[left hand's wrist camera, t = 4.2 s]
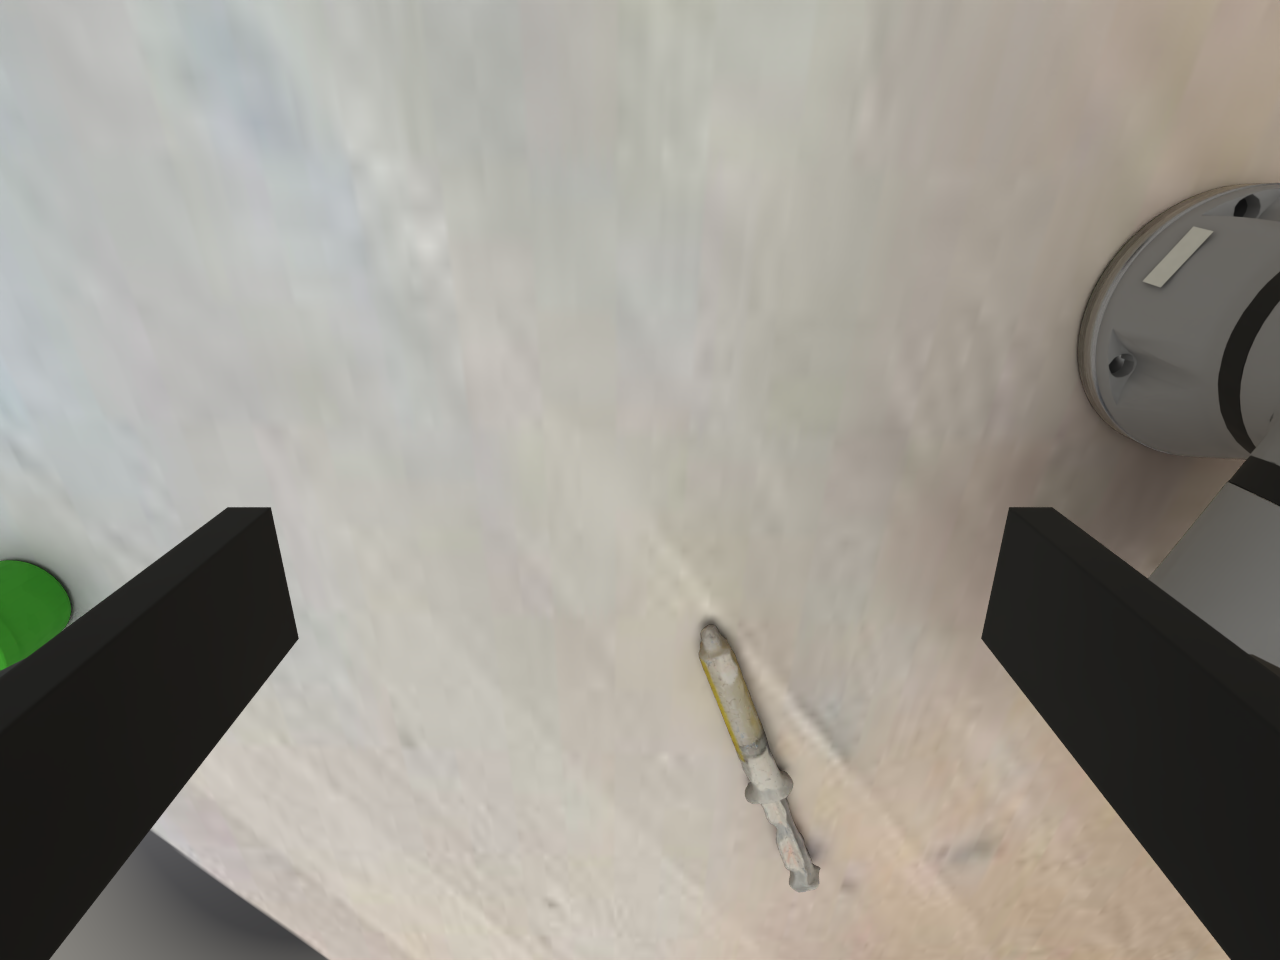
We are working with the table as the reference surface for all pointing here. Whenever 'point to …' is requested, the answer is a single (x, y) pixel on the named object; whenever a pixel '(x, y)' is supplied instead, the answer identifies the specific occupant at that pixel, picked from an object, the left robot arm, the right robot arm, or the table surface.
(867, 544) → the table surface
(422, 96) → the table surface
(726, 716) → the syringe
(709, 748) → the table surface
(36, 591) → the potted flower
